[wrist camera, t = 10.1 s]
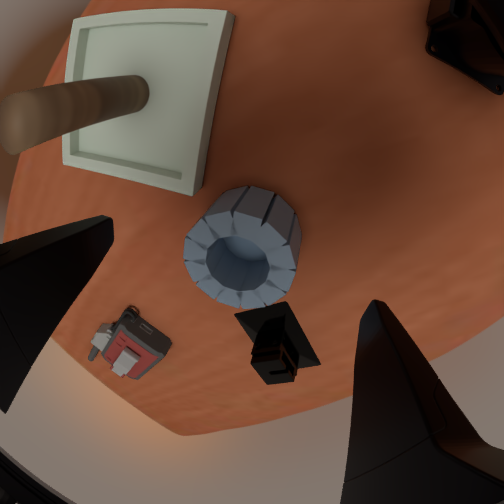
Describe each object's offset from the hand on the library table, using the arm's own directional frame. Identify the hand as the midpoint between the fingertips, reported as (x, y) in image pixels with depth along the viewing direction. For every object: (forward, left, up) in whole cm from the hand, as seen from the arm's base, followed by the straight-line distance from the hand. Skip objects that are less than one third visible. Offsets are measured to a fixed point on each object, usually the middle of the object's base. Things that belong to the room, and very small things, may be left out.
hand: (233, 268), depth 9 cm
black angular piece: (-4, +17, -13) cm, 22 cm away
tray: (+12, -3, -12) cm, 18 cm away
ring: (+1, +6, -12) cm, 14 cm away
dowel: (+12, -3, -12) cm, 17 cm away
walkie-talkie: (+14, +29, -13) cm, 35 cm away
